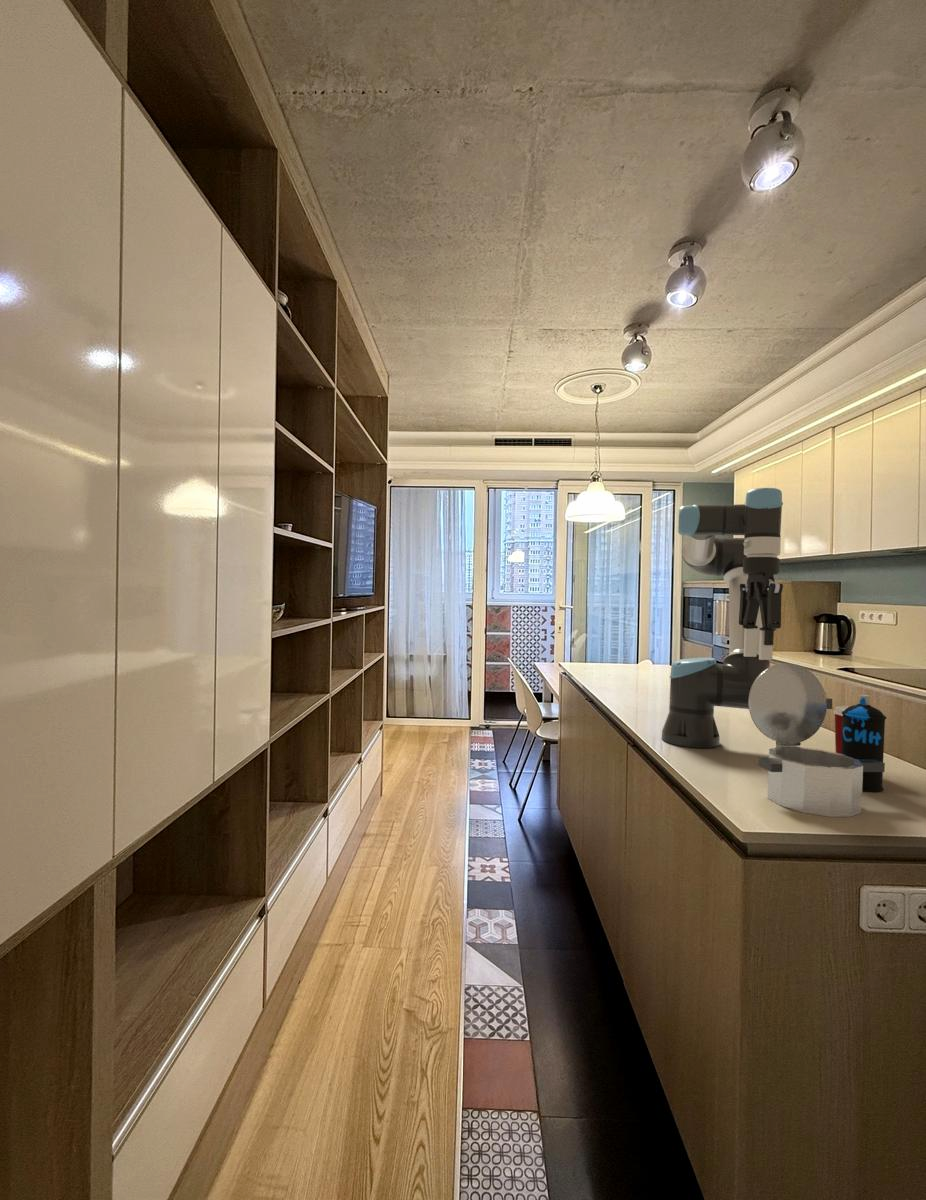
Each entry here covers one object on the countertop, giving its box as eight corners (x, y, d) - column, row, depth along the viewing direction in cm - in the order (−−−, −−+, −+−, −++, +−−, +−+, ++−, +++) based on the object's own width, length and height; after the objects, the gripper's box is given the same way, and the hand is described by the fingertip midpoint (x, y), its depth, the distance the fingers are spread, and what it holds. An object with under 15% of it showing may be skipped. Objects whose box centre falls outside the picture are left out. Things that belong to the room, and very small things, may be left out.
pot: (738, 786, 130) (739, 744, 130) (844, 786, 132) (846, 745, 132) (788, 816, 113) (789, 768, 113) (910, 816, 115) (912, 769, 115)
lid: (751, 745, 129) (744, 743, 131) (836, 746, 130) (828, 744, 133) (750, 662, 130) (744, 662, 133) (834, 664, 131) (826, 664, 134)
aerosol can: (844, 778, 139) (847, 690, 138) (887, 787, 133) (891, 696, 133) (834, 785, 133) (837, 694, 133) (878, 795, 127) (882, 700, 127)
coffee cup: (878, 778, 139) (881, 713, 139) (838, 774, 141) (841, 710, 141) (862, 767, 148) (864, 706, 147) (825, 764, 149) (827, 704, 149)
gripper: (724, 558, 148) (721, 653, 148) (769, 554, 129) (765, 662, 129) (754, 559, 148) (750, 654, 149) (803, 555, 130) (798, 663, 130)
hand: (757, 657), depth 139 cm, fingers open, 6 cm apart
